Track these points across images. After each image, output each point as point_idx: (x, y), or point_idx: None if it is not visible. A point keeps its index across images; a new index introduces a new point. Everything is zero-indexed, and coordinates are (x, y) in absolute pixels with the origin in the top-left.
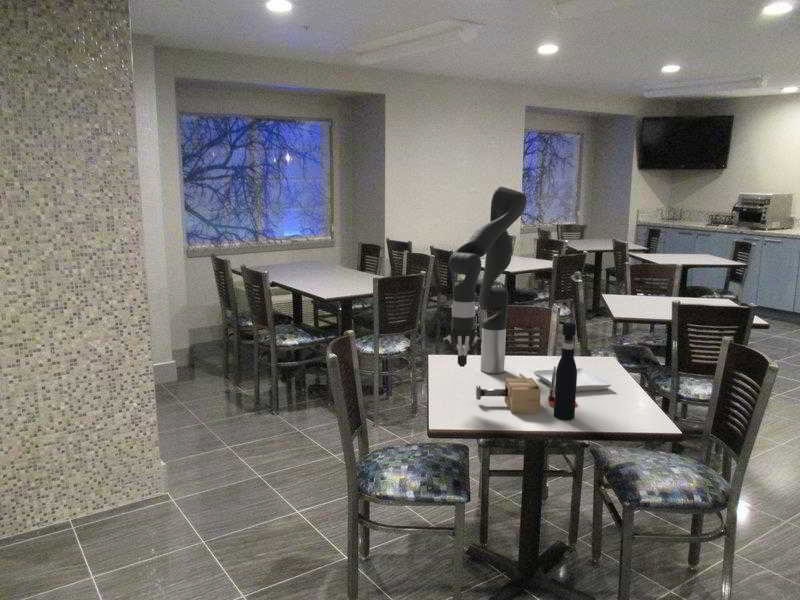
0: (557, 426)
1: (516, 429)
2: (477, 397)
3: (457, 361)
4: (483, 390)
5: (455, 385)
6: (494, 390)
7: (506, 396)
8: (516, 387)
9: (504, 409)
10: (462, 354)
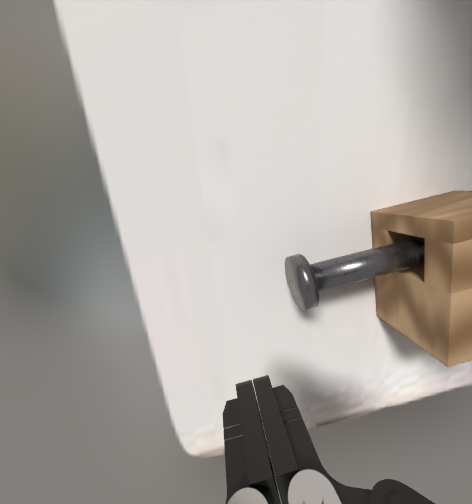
0: (465, 364)
1: (372, 406)
2: (292, 292)
3: (223, 422)
4: (324, 288)
5: (179, 45)
6: (366, 278)
7: (390, 230)
8: (467, 341)
9: (361, 289)
10: (282, 480)
